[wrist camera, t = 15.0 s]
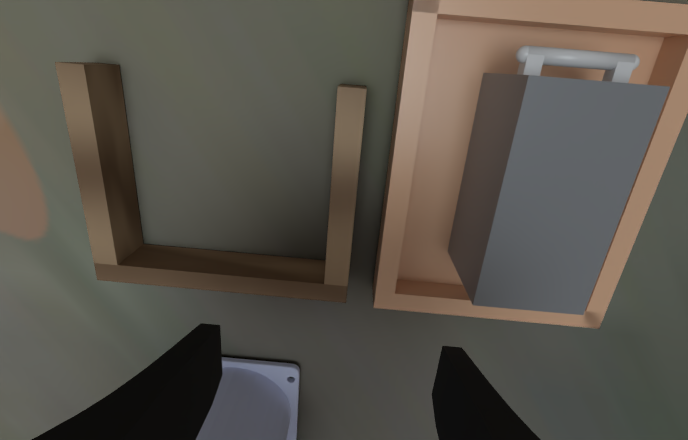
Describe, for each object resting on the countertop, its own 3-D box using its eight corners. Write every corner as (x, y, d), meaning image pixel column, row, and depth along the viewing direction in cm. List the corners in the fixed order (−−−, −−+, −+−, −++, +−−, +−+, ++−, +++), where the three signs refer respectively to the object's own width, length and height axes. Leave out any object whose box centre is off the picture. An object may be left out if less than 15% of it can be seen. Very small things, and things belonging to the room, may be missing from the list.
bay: (347, 277, 22) (346, 302, 20) (125, 257, 22) (97, 279, 20) (366, 86, 18) (366, 89, 16) (94, 62, 18) (55, 62, 16)
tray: (578, 306, 22) (598, 328, 20) (372, 287, 22) (373, 307, 20) (688, 14, 16) (730, 8, 14) (409, -9, 16) (416, -19, 15)
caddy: (532, 258, 20) (583, 315, 16) (447, 251, 20) (472, 305, 16) (593, 56, 17) (682, 53, 12) (488, 48, 17) (537, 41, 12)
